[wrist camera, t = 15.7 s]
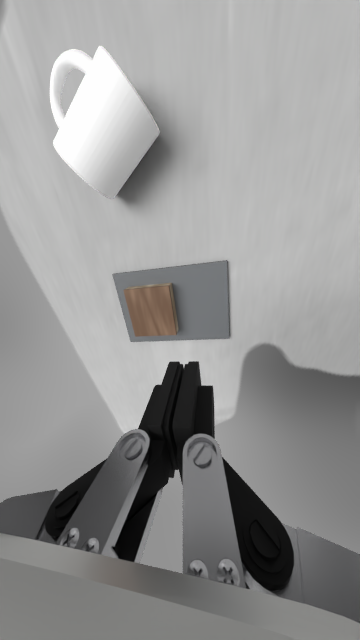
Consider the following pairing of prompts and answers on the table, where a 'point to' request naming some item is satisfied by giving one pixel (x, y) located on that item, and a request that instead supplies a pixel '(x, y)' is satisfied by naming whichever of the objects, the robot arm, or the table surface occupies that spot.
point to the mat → (185, 299)
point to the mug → (100, 121)
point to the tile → (152, 309)
